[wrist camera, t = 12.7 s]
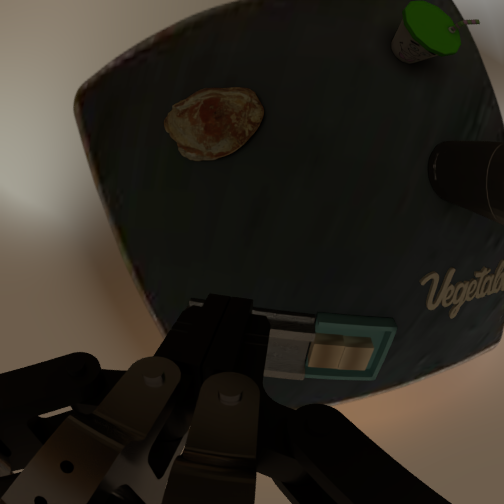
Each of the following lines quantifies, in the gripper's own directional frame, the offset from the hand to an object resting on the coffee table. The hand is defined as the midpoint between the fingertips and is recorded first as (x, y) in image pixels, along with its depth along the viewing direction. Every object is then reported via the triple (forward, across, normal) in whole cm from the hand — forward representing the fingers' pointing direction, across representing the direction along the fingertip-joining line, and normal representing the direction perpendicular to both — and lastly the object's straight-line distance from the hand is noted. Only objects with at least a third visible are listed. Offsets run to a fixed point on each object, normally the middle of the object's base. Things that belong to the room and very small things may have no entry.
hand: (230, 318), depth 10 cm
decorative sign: (+30, -38, +10) cm, 49 cm away
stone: (+30, +9, -9) cm, 32 cm away
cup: (+29, -17, -25) cm, 42 cm away
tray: (+29, -15, +23) cm, 40 cm away
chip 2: (+28, -16, +23) cm, 40 cm away
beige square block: (+28, -11, +23) cm, 38 cm away
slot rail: (+29, +2, +23) cm, 37 cm away
